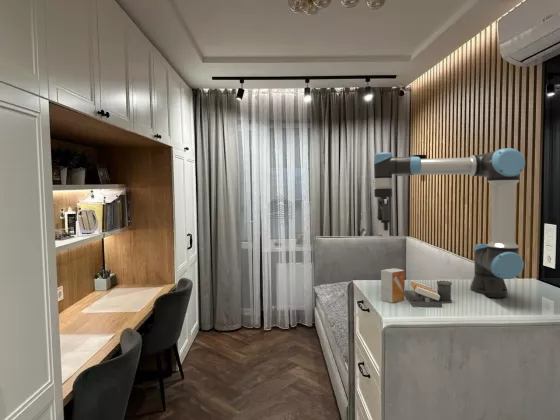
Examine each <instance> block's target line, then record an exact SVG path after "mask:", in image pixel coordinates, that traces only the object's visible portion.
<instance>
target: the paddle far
mask: <svg viewBox="0 0 560 420" xmlns="http://www.w3.org/2000/svg"><path fill="white" fill-rule="evenodd" d="M413 283H416V284H418V285H421V286H424V287H427V288H429V289H432V290H433V288H432V287H431V286H429V285H427V284H423V283H421V282H418V281H415V280H412V279H410V280H409V281H408V285H409V286H410V287H412V285H413Z"/></svg>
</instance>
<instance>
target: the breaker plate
mask: <svg viewBox="0 0 560 420" xmlns="http://www.w3.org/2000/svg"><path fill="white" fill-rule="evenodd" d="M404 292H405V293H404V298H406V300H407V301H408V302H409V303H410V305H411V306H412V307H413V308H415V307H416V308H418V307H419V308H443V303H442V302H441V301H440V300H439V301H438V300H435V299H433V298H430V297H427V296H424V295H422V294H419V293H417V292H416V291H415V290H406V289H405V291H404Z"/></svg>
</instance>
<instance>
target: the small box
mask: <svg viewBox="0 0 560 420" xmlns="http://www.w3.org/2000/svg"><path fill="white" fill-rule="evenodd" d="M405 272H406V270H405V269H399V268H396V267H392V268H386V269H381V270H380V300H381V301H384V302H387V303H391V304H393V303H397V302H402V301H405V295H404V293H405V292H404V291H405V290H406V289H405V288H406V287H405V280H406V279H405V277H406V276H405V275H406V273H405Z"/></svg>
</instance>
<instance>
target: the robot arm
mask: <svg viewBox="0 0 560 420" xmlns="http://www.w3.org/2000/svg"><path fill="white" fill-rule="evenodd" d="M373 165H374V166H373V171H374V172H373V174H374V176H373V177H374V180H372V183H374V185H373V186H374V188H375V189H374V190H373V191H374V197H375V198H378V199H377V204H378V205H377V216H376V217H377V218H376V219H377V234H378V235H379V236H382V239H390V221H391V217H390V205H389V203H390V202H389V199H388V198H392V197H393V189H392V187H393V175H394V176H398V177H403V176H433V175H434V176H436V175H437V176H438V175H439V176H441V175H442V176H443V175H469V176H471V177H484V178H487V183H488V184H490V185H491V216H490V217H491V218H490V219H491V221H490V223H491V224H490V226H491V227H490V242H489V243H477V244H475V245H474V251H473V252H474V260H473V261H474V265H473V266H474V274H473V275H474V276H473V278H472V280H471V284H470V287H469V290H470V291H471V292H472V293H473V292H474V293H475V294H481V295H483V296H484V297H487V298H505V297H508V294H509V292H508V291H509V290H508V288H507V285H506V281H505V280H512V279H514V278H517V277H518V276H519V275H520V274H521V273H523V270H524V268H525V267H524V265H525V263H524V259H523V258H522V257H521V255H520V251H519V249H520V247H519V245H518V244H517V243H516V242H515V238H516V237H515V233H516V232H515V231H516V230H515V226H516V225H515V223H516V185H517V184H518V183H519V182H520V179H521V173H522V172H523V171H524V168H525V166H526V160H525V156H524V155H523V154H522V153H521V152H520V151H519V150H517V149H515V148H511V147H510V148H508V147H507V148H500V149H497V150H493V151H490V152H486V153H482V154H475V155H474V154H472V155H470V156H469V157H443V158H441V157H440V158H437V157H436V158H420V156H397V157H396V156H393V153H392V152H390V151H389V152H387V151H386V152H377V153H375V154H374V161H373Z"/></svg>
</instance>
